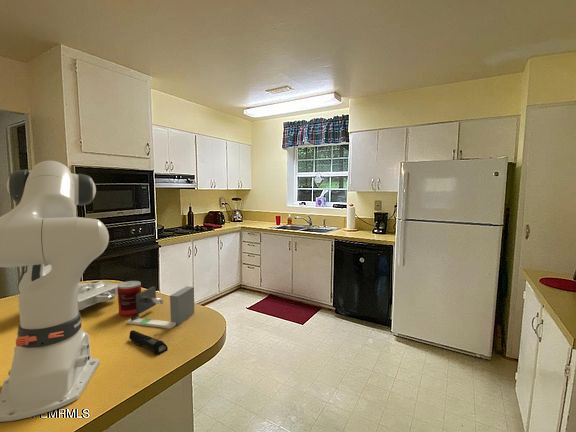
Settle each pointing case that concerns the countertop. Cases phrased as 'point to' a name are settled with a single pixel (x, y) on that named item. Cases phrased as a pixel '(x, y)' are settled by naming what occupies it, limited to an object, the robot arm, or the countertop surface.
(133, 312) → the canned food
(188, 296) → the push gauge
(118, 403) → the countertop surface
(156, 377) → the countertop surface
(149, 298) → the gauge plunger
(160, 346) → the electric trimmer
